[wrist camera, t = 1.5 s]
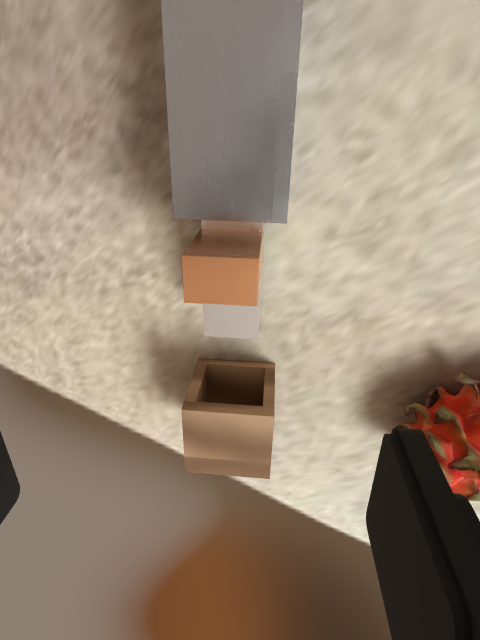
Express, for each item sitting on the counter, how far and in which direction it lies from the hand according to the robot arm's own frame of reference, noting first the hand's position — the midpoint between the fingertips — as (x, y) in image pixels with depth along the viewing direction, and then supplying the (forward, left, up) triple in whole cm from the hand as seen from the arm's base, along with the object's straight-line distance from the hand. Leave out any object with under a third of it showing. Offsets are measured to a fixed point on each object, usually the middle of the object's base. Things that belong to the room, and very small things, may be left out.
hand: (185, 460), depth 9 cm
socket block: (+13, 0, -21) cm, 25 cm away
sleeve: (-10, -1, -21) cm, 23 cm away
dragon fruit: (+13, +18, -21) cm, 30 cm away
